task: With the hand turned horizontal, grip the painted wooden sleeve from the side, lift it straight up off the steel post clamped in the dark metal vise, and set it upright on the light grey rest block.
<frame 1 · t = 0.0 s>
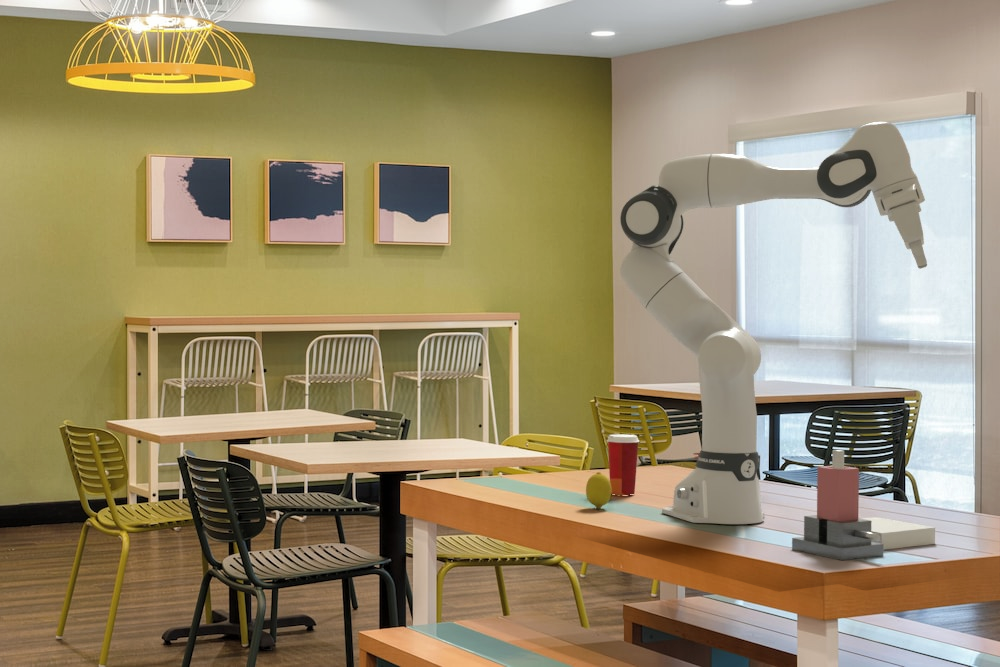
hand: (923, 266, 241), 52 cm above the table, tool tilted 20°, fingers open, 8 cm apart
pen holder: (739, 498, 288), on the table
sleeve: (837, 518, 218), point 6 cm above the table, touching vise
paper cup: (622, 495, 290), on the table
rest block: (879, 540, 230), on the table
lemon: (598, 509, 267), on the table
vise: (837, 552, 218), on the table
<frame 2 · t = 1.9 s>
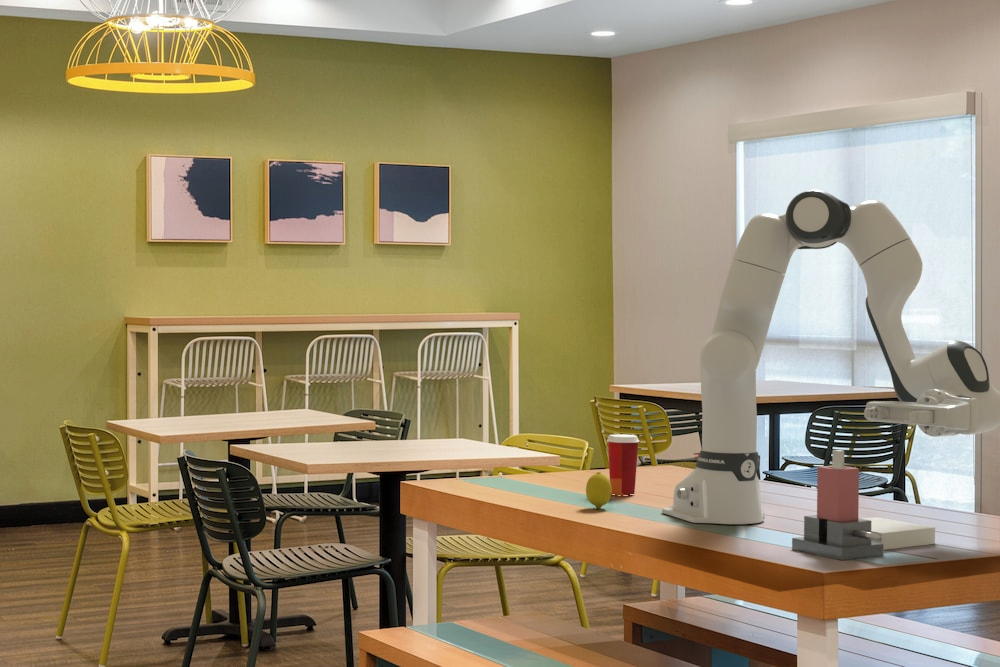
hand: (886, 415, 224), 24 cm above the table, tool horizontal, fingers open, 8 cm apart
nothing on the table moved.
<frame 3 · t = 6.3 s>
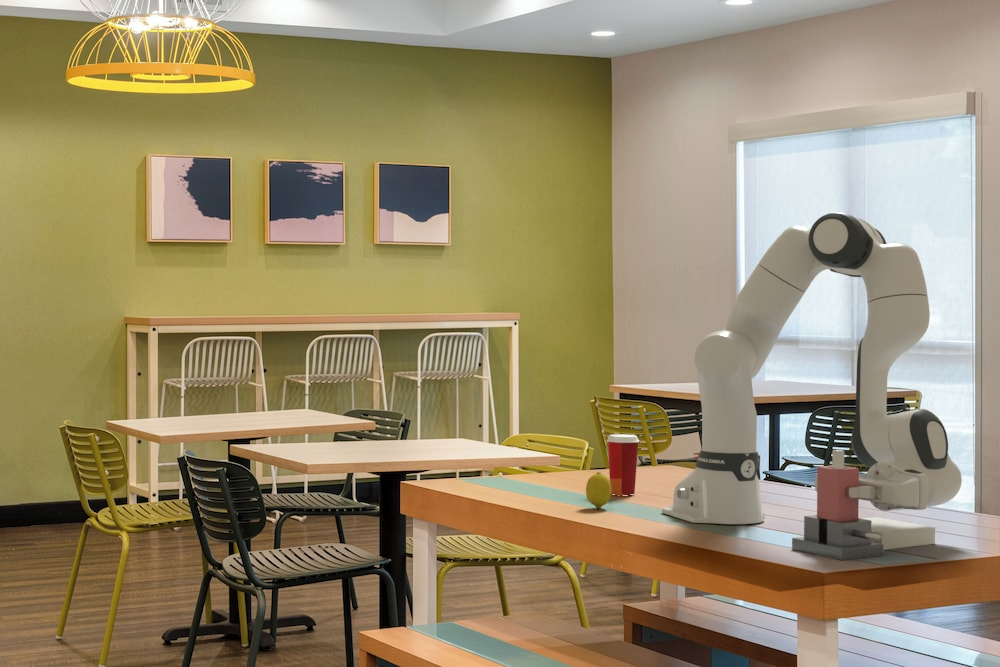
hand: (834, 490, 217), 11 cm above the table, tool horizontal, fingers closed on sleeve, 5 cm apart
sleeve: (837, 518, 218), point 6 cm above the table, touching gripper, vise
everything else where it was.
when the fingers open (9 cm above the table, at t = 14.0 s): sleeve drops 1 cm, resting on rest block.
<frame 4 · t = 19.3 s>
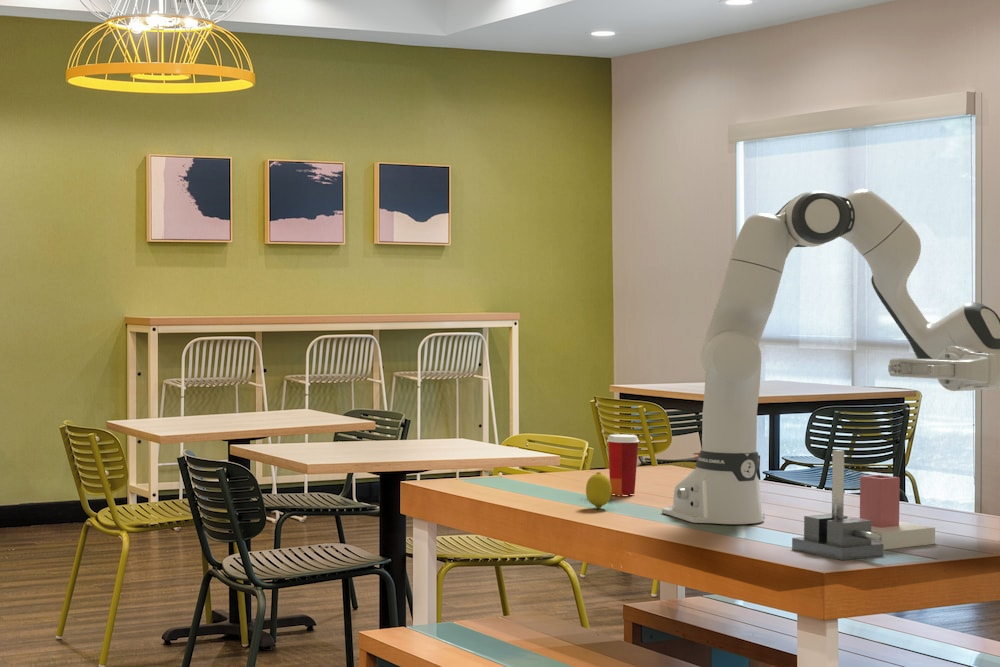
hand: (910, 369, 237), 32 cm above the table, tool horizontal, fingers open, 8 cm apart
sleeve: (879, 524, 230), point 3 cm above the table, touching rest block
everything else where it was.
at the end: sleeve inside the target area on the rest block (0.0 cm from its centre), point 3.0 cm above the rest block's base; sleeve tilted 0°; sleeve touching rest block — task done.
